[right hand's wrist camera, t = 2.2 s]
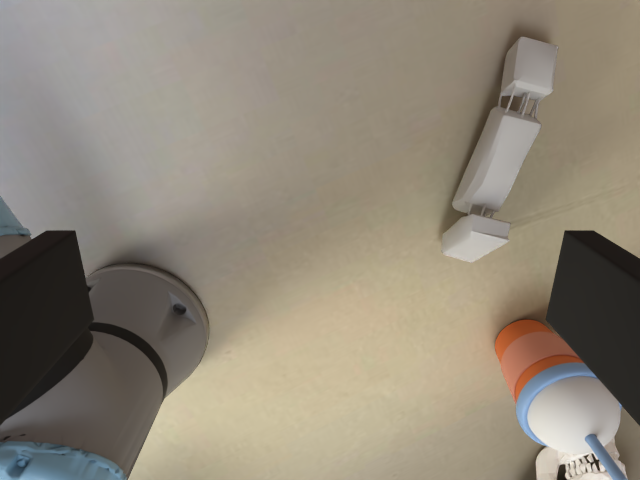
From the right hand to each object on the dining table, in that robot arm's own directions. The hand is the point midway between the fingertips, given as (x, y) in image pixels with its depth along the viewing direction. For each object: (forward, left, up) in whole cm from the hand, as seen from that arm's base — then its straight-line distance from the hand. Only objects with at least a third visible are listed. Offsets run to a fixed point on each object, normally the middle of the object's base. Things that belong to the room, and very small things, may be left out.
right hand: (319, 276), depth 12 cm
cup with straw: (-18, -27, -31) cm, 45 cm away
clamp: (+1, -16, -31) cm, 35 cm away
